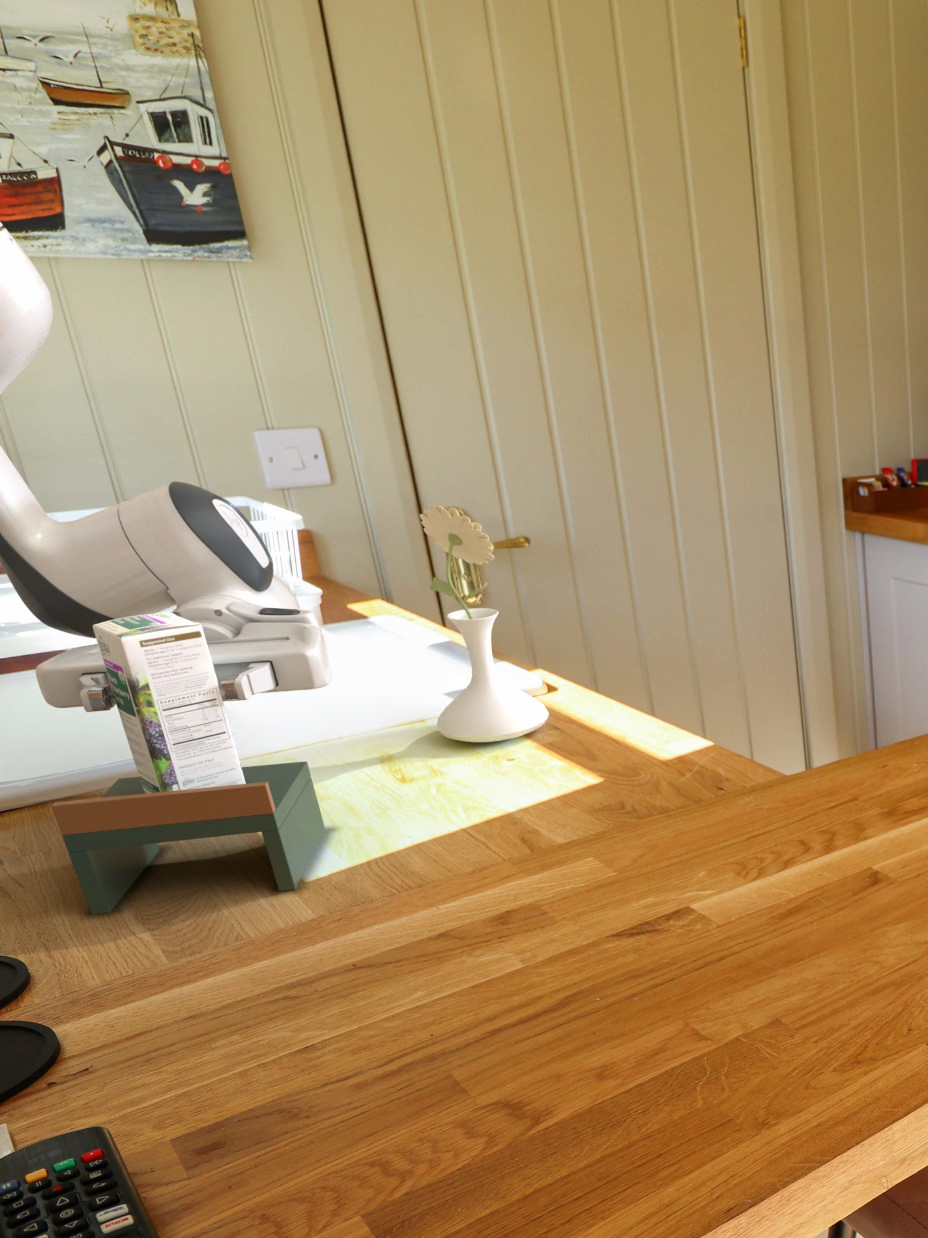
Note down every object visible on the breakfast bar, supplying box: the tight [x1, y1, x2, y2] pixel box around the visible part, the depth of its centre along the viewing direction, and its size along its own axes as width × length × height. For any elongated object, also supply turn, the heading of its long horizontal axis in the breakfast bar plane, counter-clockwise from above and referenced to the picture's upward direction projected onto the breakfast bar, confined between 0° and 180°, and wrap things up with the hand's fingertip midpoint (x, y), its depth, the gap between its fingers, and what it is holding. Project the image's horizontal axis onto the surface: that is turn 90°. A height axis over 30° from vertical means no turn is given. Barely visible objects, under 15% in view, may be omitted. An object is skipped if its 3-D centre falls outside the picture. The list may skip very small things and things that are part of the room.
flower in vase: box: [419, 504, 549, 743], centre depth 126 cm, size 13×11×25 cm
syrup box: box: [93, 612, 246, 793], centre depth 94 cm, size 6×6×14 cm
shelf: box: [50, 760, 326, 916], centre depth 97 cm, size 14×12×10 cm
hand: (164, 696), depth 93 cm, fingers open, 8 cm apart
